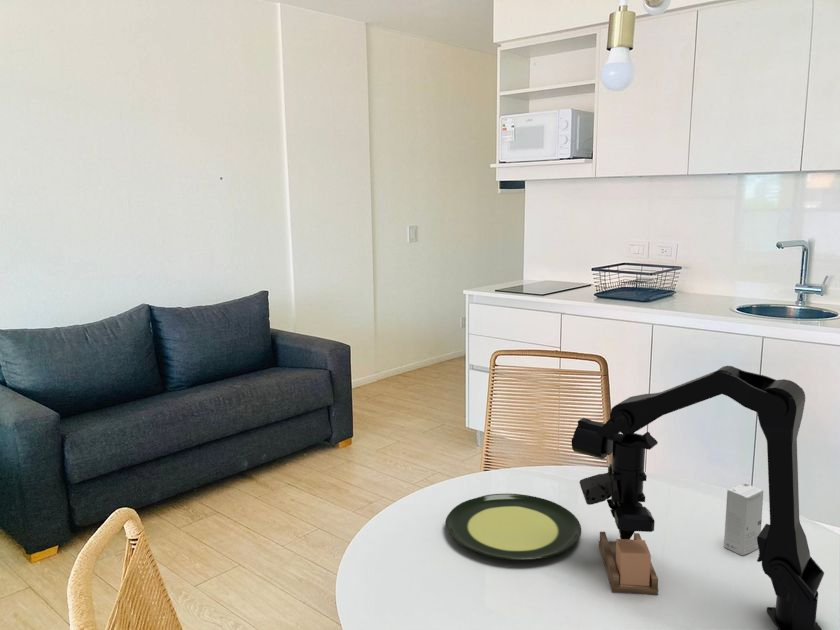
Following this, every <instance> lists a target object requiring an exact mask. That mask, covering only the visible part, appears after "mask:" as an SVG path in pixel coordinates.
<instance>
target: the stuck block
mask: <svg viewBox="0 0 840 630" xmlns="http://www.w3.org/2000/svg"><path fill="white" fill-rule="evenodd" d="M615 540H616V541H615V542H616V562H615V565H616V568H617V571H618V574H619V583H620V585H639V586H649V581H650V562H651V563H652V561H651V559H652V554H651V552H650V550H649V547H648V544H647V543H646V540H644V539H642V540H634V539H631V538H630V539H620V538H616V539H615Z"/></svg>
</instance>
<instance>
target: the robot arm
mask: <svg viewBox="0 0 840 630" xmlns="http://www.w3.org/2000/svg"><path fill="white" fill-rule="evenodd" d="M720 395H724V396H726V397H728V398H729V399H731V400H733V401H734V402H736V403H738V404H739V405H741V406H743V407H744V408H746V409H748V410H751V411H754V412H756V413H757V418H758V422H759V426H760V428H761V431H762V433H763V435H764V437H765V439H766V447H767V448H766V449H767V450H766V451H767V469H768V470H767V474H768V475H767V476H768V500H769V503H768V504H769V506H768V507H769V524H768V523H765V525H764V527H762V528H761V532H760V534H759V535H758V537H757V543H758V557H757V560H756V562H758V563H760V562H761V567H762V571H763V573H764V575H766V576H767V577H768V578H769V579H770V581H771V583H772V587H773V589H774V593H775V595H776V600H775V606H773V607H771V606H767V607H766V612H767V614H768V615H769V617H770V618H771V619H772V621H773V623H774V625H775V626H776V627H777V629H778V630H823V629H822V628H821V626H820V625H819V623H818V622H817V613H818V612H817V610H818V601H819V600H818V599H819V592H818V589H819V587H820V584H821V582H822V579H823V578H824V575H825V572H824V571H823V569H822V568H821V567H820V566H819V564H818V563H817V562H816V561H815V560H814V559H813V558H812V556H811V552H810V548H809V544H808V539H807V535H806V532H805V531H804V529H803V527H802V525H801V522H800V521H801V520H800V498H799V466H798V462H799V461H798V435H799V431H800V426H801V423H802V419H803V416H804V415H803V414H804V411H805V410H804V409H805V403H806V394H805V391H804V389H803V388H802V387H801V386H800V385H798V384H797V383H796V382H794V381H792V380H789V379H774V378H771V377H769V376H766V375H763V374H758V373H754V372H750V371H746V370H742V369H740V368H737V367H735V366H732V365H724V366H722V367H720V368H719V369H717V370H716V371H715V370H714V371H711V372H709V373H707V374H705V375H702V376H699V377H696V378H694V379H691V380H689V381H687V382H684V383H681V384H679V385H675V386H674V387H671V388H668V389H666V390H663V391H659V392H654V393H644V394H639V395H633V396H629V397H628V398H626V399H623V400H622V401H621V402H618V403H617V404H615V405H614V406H613V407H611V409H610V414H609V419H608V420H607V421H606V422H604V423H603V422H599V421H595V420H591V419H589V418H586V417H582V418H580V419H579V420H577V426H576V427H575V430H574V432H573V435H572V438H571V449H572V451H573V452H575V453H578V454H580V455H586V456H588V457H593V458H596V459H599V460H604V459H606V458H607V457H608V456H611V455H612V459H611V463H610V464H609V465H608V466H607V472H604V473H599V474H595V475H590V476H588V477H585V478H581V479H580V480H579V481H578V482H579V485H580V490H581V492H582V495H583V498H584V500H585V504H586V505H588V506H589V505H590V506H591V505H595V504H599V503H602V502H605V501H606V503H607V505H608V507H609V508H610V510H609V511H610V513H611V515H612V517H613V518H614V522H615V525H616V528H617V530H618V532H619V539H630V540H631V539H632V537H633V536H634V533H636V532H642V533H643V532H646V533H647V532H648V533H651V532H652V533H653V532H654V531H655V521H656V520H655V518H654V516H653V514H652V512H651V511H650V509H648V507H646V506H643V504H642V503H646V495H645V494H644V482H647V474H646V472H645V461H646V460H645V459H646V458H645V457H646V450H652V449H653V448H654V447H655V446H657V445H658V441H657V439H656V438H654V437H653V435H651V433H650V432H649V431H646V432H645V433H644V434H640V433H637V432H638V431H640V430H641V429H643V428H645V427H646V426H648V425H649V424H651V423H653V422H654V421H656V420H657V419H659V418H661V417H662V416H665V415H667V414H670V413H673V412H676V411H678V410H681V409H684V408H686V407H689V406H693V405H695V404H698V403H701V402H704V401H707V400H710V399H712V398H715V397H717V396H720Z"/></svg>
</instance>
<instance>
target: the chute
mask: <svg viewBox="0 0 840 630" xmlns="http://www.w3.org/2000/svg"><path fill="white" fill-rule="evenodd" d="M633 540H643V539H642V536H641V534H640V533H637V532H634V534H633ZM598 548H599V550H600V555H601V557H602V561H603V564H604V568H605V572H606V576H607V579H608V581H609V585H610V588H611V592H612V593H616V594H617V593H620V594H636V595H637V594H638V595H654V596H655V595H656V596H659V577H658V574H657V573H656V570H655V568H654V566H653V562H652V561H651V562H650V581H649V586H639V585H620V583H619V574H618V571H617V568H616V565H615V562H616V541H612V540H611V541H609V540H608V536H607V533H606V532H605V531H600V532H599V541H598Z"/></svg>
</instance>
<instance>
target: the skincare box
mask: <svg viewBox="0 0 840 630" xmlns="http://www.w3.org/2000/svg"><path fill="white" fill-rule="evenodd" d="M763 502H764V489H761V488H760V487H756V486H754V485H750V484H746V483H742V484H740V485H735V486H734V487H732V488H730V489H727V490H726V506H725V508H726V509H725V523H724V537H723V538H724V539H723V547H724V548H726V549H728V550H729V551H731V552H734V553H736V554H737V555H740V556H746V555H747V554H750V553H753V552H755V551H756V550H759V548H758V543H757V537H758V535H759V534H760V532H761V531H762V520H763V519H762V517H763V505H764V503H763Z"/></svg>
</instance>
